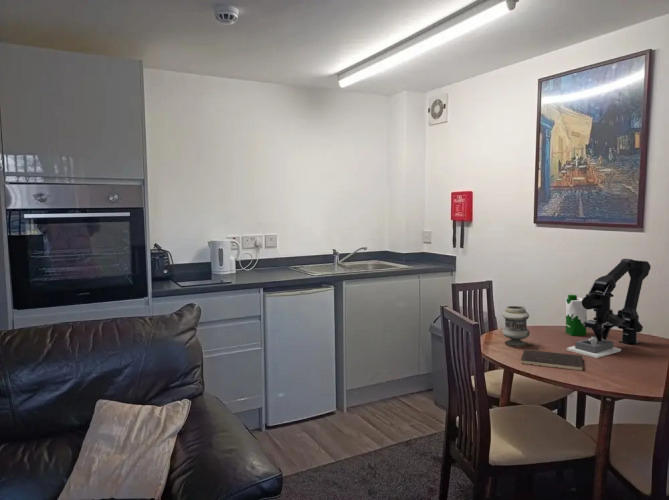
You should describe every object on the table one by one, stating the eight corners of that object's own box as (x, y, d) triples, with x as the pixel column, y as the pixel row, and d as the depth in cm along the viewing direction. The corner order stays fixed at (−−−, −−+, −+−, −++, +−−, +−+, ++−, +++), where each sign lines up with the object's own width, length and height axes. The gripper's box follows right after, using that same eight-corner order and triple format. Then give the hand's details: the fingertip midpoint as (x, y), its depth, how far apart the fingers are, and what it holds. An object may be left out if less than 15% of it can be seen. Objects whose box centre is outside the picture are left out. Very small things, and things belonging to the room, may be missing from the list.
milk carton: (562, 332, 243) (563, 293, 241) (580, 331, 243) (581, 293, 241) (571, 336, 234) (572, 297, 233) (589, 336, 234) (590, 296, 232)
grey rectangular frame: (593, 343, 218) (593, 337, 218) (613, 348, 211) (613, 341, 210) (575, 348, 212) (575, 341, 211) (594, 353, 204) (594, 346, 203)
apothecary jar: (499, 340, 230) (499, 304, 229) (523, 340, 230) (524, 304, 228) (507, 347, 218) (507, 309, 216) (533, 347, 218) (533, 309, 216)
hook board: (590, 343, 222) (591, 331, 221) (620, 351, 209) (621, 337, 209) (566, 350, 213) (567, 337, 212) (597, 358, 201) (597, 344, 200)
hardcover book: (582, 372, 186) (583, 366, 186) (520, 364, 196) (520, 359, 196) (582, 360, 200) (582, 355, 200) (524, 353, 210) (524, 348, 210)
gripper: (608, 313, 201) (607, 348, 202) (633, 307, 210) (632, 341, 211) (583, 308, 211) (583, 342, 212) (608, 303, 220) (607, 336, 221)
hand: (602, 340), depth 214 cm, fingers open, 3 cm apart
